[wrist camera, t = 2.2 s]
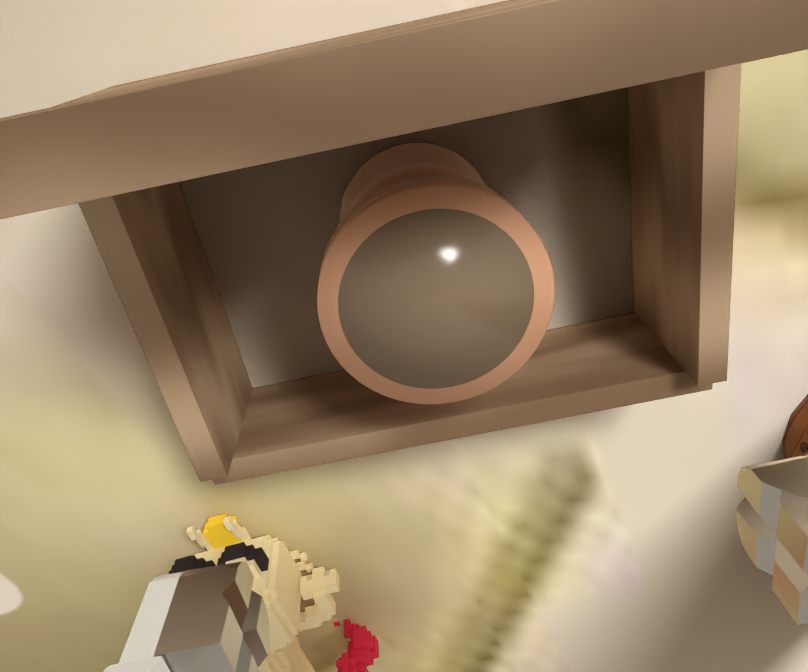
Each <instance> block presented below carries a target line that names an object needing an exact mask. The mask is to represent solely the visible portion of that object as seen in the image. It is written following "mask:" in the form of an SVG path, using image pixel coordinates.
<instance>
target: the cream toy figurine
mask: <svg viewBox="0 0 808 672" xmlns="http://www.w3.org/2000/svg"><path fill="white" fill-rule="evenodd" d="M186 533H187V535H188V536H189V537H190V539H191V540H192V541H193V540H196V541H197V542H198V544H199V545H200V546H201V548H203V547H206V549H207V550H208V551H205V552H201V553H198V554H194V555H191V556H188V557H184V558H180V559H177V560H175V564H174V565H173V566H172V569H171V571H169V574H172V573H179V572H184V571H186V570H192V569H199V568H205V567H211V566H217V565H223V564H229V563H236V562H245V563H248V566H249V568H250V570H251V572H252V574H253V576H254V580H253V585H252V591H254V592H256V593H257V594H259V595H261V596H262V598H263V600H264V603H265V605H266V609H267V613H268V618H269V630H270V642H269V650H268V656H267V657H266V658H265V660H264V661H263V662H262V663H261V665H260V666H259V667H258V669H259V671H260V672H315V670H314V668H313V667H312V665H311V664H310V662H309V661H308V659H307V658H306V656H305V654H304V653H303V651H302V650H301V648H300V647H299V639H298V638H297V636H296V634H299V632H300V631H304V630H308V629H312V628H316V627H320V626H322V623H323V622H324V621H328V620H332V615H336V603H335V601H334V599H333V598H332V596H331V593H335V592H339V591H340V575H339V573H338V572H337V570H336V568H334V569H330V570H326V569H325V567H324V566H322V567H318V568H315V569H314V566H313V564H312V563H310V564H306V563H305V562H304V561H307V557H308V555H307V554H306V552H303V553H299V551H298V550H294V551H290V552H289V551H288V549H287V547H286V545H285V544H284V542H283V540H282V541H279V539H278V537H276V538H271V537H270V535H266V536H262V537H258V538H255V539H251V537H250V535H249V534H248V532H247V530H246V529H245V527H243V528H242V527H241V526H240V524H239V522H238V521H237V519H236V517H235V516H232V517H230V516H227V514H226V513H225V514H221V515H218V516H214V517H210V518H208V522H207V523H206V524H205V527H204V531H203V532H202V531H201V529H199V530H196V529H195V527H194V526H191V527H187V531H186ZM298 558H300V560H301V562H298V563H295V561H294V560H295V559H298ZM305 569H306V571H307V572H308V573H310V572H312V574H311V575H307V576H303V577H302V573H301V571H302V570H305ZM301 596H302V598H303V600H308V599H312V598H313V599H314V605H313V606H309V607H305V612H301V613H300V603H301ZM334 625H335V627H336V626H340V623H339V621H338V622H334ZM344 637H345V639H348V638H351V641H348V652H347V653H343V654H342V658H338V660H337V661H336V667H337V669H338V672H368V670H367V668H366V666H369V665H373V659H375V658H379V651H378V640H377V638H376V637H375V635H373V636H372V634H371V632H370V631H367V628H366V626H361V627H360V626H359V625H358V624H355V623H353V624H351V622H350V620H345V621H344Z"/></svg>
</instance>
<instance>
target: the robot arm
mask: <svg viewBox="0 0 808 672" xmlns="http://www.w3.org/2000/svg"><path fill="white" fill-rule="evenodd" d="M737 487H738V489H739V490H740V491H741V492H742V494H743V495H744V496H745V498H744V500H743V501H742V502H741V503H740V504H739V506H738V507H737V508H736V526H737V529H738V533H739V537H740V541H741V543H742V545H743V547H744V549H745V551H746V553H747V555H748V557H749V558H750V559H751V561H752V562H753V564H754V565H755V567H757V568H759V569H760V570H762V571H764V572H766V573H768V574H770V575H772V576H773V578H772V591H773V592H774V594H775V595H776V596H777V598H778V599H779V601H780V602H781V603H782V605H783V606H784V608H785V609H786V610H787V612H788V613H789V615H790V616H791V617H792V619H793V620H794V622H795V623H796V624H797V625H802V624H808V454H807V455H805V456H798V457H793V458H788V459H783V460H778V461H772V462H767V463H762V464H757V465H752V466H747V467H742V468H741V470H740V472H739V474H738V485H737ZM253 580H254V576H253V574H252V572H251V570H250V568H249V566H248V563H245V562H236V563H229V564H223V565H217V566H211V567H205V568H199V569H192V570H186V571H184V572H179V573H172V574H166V575H159V576H155V577H154V578H153V579H152V580H151V581H150V583H149V584H148V587H147V589H146V592H145V594H144V597H143V600H142V602H141V605H140V608H139V610H138V613H137V615H136V618H135V621H134V623H133V626H132V628H131V631H130V634H129V636H128V639H127V641H126V644H125V647H124V649H123V652H122V655H121V657H120V660H119V662H118V664H113V665H109V666H108V667H107V668H106V669H105V670H104V671H103V672H260V671H259V669H258V667H259V666H260V665H261V663H262V662H263V661H264V660H265V658H266V657H267V656H268V650H269V642H270V630H269V618H268V613H267V609H266V605H265V603H264V600H263V598H262V596H261V595H259V594H257V593H256V592H254V591H252V585H253Z"/></svg>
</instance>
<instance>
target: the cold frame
mask: <svg viewBox="0 0 808 672" xmlns="http://www.w3.org/2000/svg"><path fill="white" fill-rule="evenodd" d="M806 49H808V0H507V1H503V2H498V3H494V4H489V5H484V6H480V7H475V8H471V9H466V10H461V11H457V12H452V13H448V14H443V15H438V16H434V17H429V18H425V19H420V20H415V21H411V22H406V23H402V24H397V25H392V26H388V27H383V28H379V29H374V30H369V31H365V32H360V33H356V34H351V35H346V36H342V37H337V38H333V39H328V40H323V41H319V42H314V43H310V44H305V45H300V46H296V47H291V48H287V49H282V50H277V51H273V52H268V53H264V54H259V55H254V56H250V57H245V58H241V59H236V60H231V61H227V62H222V63H218V64H213V65H208V66H204V67H199V68H195V69H190V70H185V71H181V72H176V73H172V74H167V75H162V76H158V77H153V78H149V79H144V80H139V81H135V82H130V83H126V84H121V85H116V86H113V87H110V88H107V89H104V90H101V91H98V92H95V93H92V94H89V95H86V96H83V97H80V98H77V99H74V100H71V101H68V102H65V103H62V104H59V105H57V106H54V107H51V108H46V109H42V110H37V111H33V112H28V113H23V114H19V115H14V116H10V117H5V118H0V219H4V218H9V217H14V216H19V215H23V214H28V213H33V212H37V211H42V210H47V209H52V208H56V207H61V206H66V205H71V204H75V203H79V205H80V208H81V210H82V212H83V215H84V217H85V219H86V221H87V224H88V226H89V228H90V231H91V233H92V235H93V237H94V240H95V242H96V244H97V247H98V249H99V251H100V253H101V256H102V258H103V260H104V263H105V265H106V267H107V269H108V272H109V274H110V276H111V279H112V281H113V283H114V285H115V288H116V290H117V292H118V295H119V297H120V299H121V301H122V304H123V306H124V308H125V311H126V313H127V315H128V317H129V320H130V322H131V324H132V327H133V329H134V331H135V333H136V336H137V338H138V340H139V343H140V345H141V347H142V349H143V352H144V354H145V356H146V359H147V361H148V363H149V366H150V368H151V370H152V372H153V375H154V377H155V379H156V382H157V384H158V386H159V388H160V391H161V393H162V395H163V398H164V400H165V402H166V404H167V407H168V409H169V411H170V414H171V416H172V418H173V420H174V423H175V425H176V427H177V430H178V432H179V434H180V436H181V439H182V441H183V443H184V446H185V448H186V450H187V452H188V455H189V457H190V459H191V462H192V464H193V466H194V468H195V471H196V473H197V475H198V478H199V480H200V482H201V481H207V480H212V479H213V481H214V484H220V483H226V482H231V481H236V480H241V479H246V478H252V477H257V476H262V475H267V474H273V473H278V472H283V471H288V470H293V469H299V468H304V467H309V466H314V465H319V464H325V463H330V462H335V461H340V460H345V459H351V458H356V457H361V456H366V455H372V454H377V453H382V452H387V451H392V450H398V449H403V448H408V447H413V446H418V445H424V444H429V443H434V442H439V441H444V440H450V439H455V438H460V437H465V436H471V435H476V434H481V433H486V432H491V431H497V430H502V429H507V428H512V427H517V426H523V425H528V424H533V423H538V422H544V421H549V420H554V419H559V418H564V417H570V416H575V415H580V414H585V413H590V412H596V411H601V410H606V409H611V408H616V407H622V406H627V405H632V404H637V403H643V402H648V401H653V400H658V399H663V398H669V397H674V396H679V395H684V394H689V393H695V392H700V391H705V390H710V389H712V383H716V382H722V381H727V364H728V342H729V320H730V298H731V276H732V254H733V232H734V210H735V189H736V167H737V145H738V123H739V101H740V79H741V63H745V62H749V61H754V60H759V59H764V58H768V57H773V56H778V55H783V54H787V53H792V52H797V51H802V50H806ZM626 87H628V118H629V151H630V184H631V216H632V249H633V281H634V313H632V314H627V315H622V316H617V317H612V318H607V319H602V320H597V321H592V322H587V323H581V324H576V325H571V326H566V327H561V328H556V329H551V330H546V332H545V335H544V337H543V338H542V340H541V342H540V344H539V345H538V347H537V349H536V350H535V351H534V353H533V354H532V355H531V357H530V358H529V359H528V361H527V362H526V363H525V364H524V365H523V366H522V367H521V368H520V369H519V370H518V371H517V372H515V373H514V374H513V375H512V376H511V377H509V378H508V379H507V380H505V381H504V382H502V383H501V384H499V385H498V386H496V387H494V388H492V389H490V390H488V391H486V392H484V393H482V394H480V395H477V396H474V397H472V398H469V399H465V400H461V401H457V402H452V403H444V404H416V403H409V402H404V401H399V400H396V399H393V398H389V397H386V396H384V395H382V394H379V393H377V392H375V391H373V390H371V389H370V388H368V387H366V386H365V385H363V384H361V383H360V382H359V381H357V380H356V379H355V378H354V377H353V376H351V375H350V374H349V373H348V372H347V371H346V370H343V371H338V372H333V373H328V374H323V375H318V376H313V377H308V378H303V379H298V380H292V381H287V382H282V383H277V384H272V385H267V386H262V387H257V388H252V386H251V383H250V380H249V378H248V375H247V372H246V369H245V366H244V364H243V361H242V358H241V355H240V352H239V350H238V347H237V344H236V341H235V338H234V336H233V333H232V330H231V327H230V324H229V322H228V319H227V316H226V313H225V310H224V308H223V305H222V302H221V299H220V297H219V294H218V291H217V288H216V285H215V283H214V280H213V277H212V274H211V271H210V269H209V266H208V263H207V260H206V257H205V255H204V252H203V249H202V246H201V243H200V241H199V238H198V235H197V232H196V230H195V227H194V224H193V221H192V218H191V216H190V213H189V210H188V207H187V204H186V202H185V199H184V196H183V193H182V190H181V188H180V185H179V182H180V181H185V180H189V179H194V178H199V177H204V176H208V175H213V174H218V173H223V172H227V171H232V170H237V169H242V168H246V167H251V166H256V165H261V164H265V163H270V162H275V161H280V160H284V159H289V158H294V157H299V156H303V155H308V154H313V153H318V152H322V151H327V150H332V149H336V148H341V147H346V146H351V145H355V144H360V143H365V142H370V141H374V140H379V139H384V138H389V137H393V136H398V135H403V134H408V133H412V132H417V131H422V130H427V129H431V128H436V127H441V126H446V125H450V124H455V123H460V122H465V121H469V120H474V119H479V118H484V117H488V116H493V115H498V114H503V113H507V112H512V111H517V110H522V109H526V108H531V107H536V106H541V105H545V104H550V103H555V102H560V101H564V100H569V99H574V98H579V97H583V96H588V95H593V94H598V93H602V92H607V91H612V90H617V89H621V88H626Z"/></svg>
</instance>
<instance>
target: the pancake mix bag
mask: <svg viewBox="0 0 808 672" xmlns="http://www.w3.org/2000/svg"><path fill="white" fill-rule="evenodd" d="M783 447H784V454H785V459H788V458H793V457H798V456H805V455H807V454H808V396H807V397H806V398H805V399H804V400H803V402H802V403H801V404H800V405H799V406H798V407H797V409H796V410H795V411H794V412H793V413H792V415H791V418H790V421H789V423H788V426H787V429H786V432H785V435H784V438H783Z"/></svg>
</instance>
